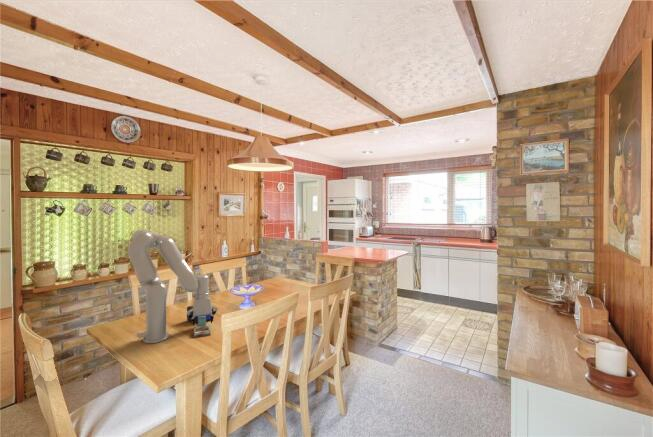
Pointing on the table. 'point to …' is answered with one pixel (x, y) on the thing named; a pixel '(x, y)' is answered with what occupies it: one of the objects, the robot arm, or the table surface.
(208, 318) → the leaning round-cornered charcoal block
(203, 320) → the teal block
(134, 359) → the table surface
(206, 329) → the block cradle
